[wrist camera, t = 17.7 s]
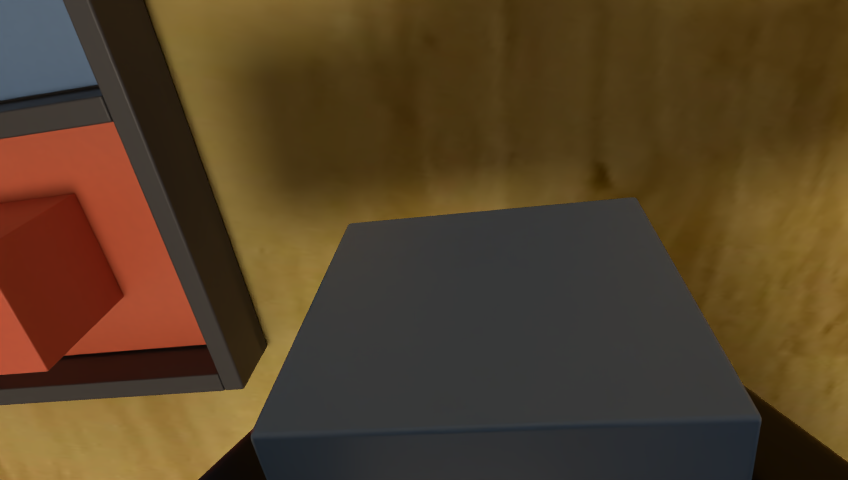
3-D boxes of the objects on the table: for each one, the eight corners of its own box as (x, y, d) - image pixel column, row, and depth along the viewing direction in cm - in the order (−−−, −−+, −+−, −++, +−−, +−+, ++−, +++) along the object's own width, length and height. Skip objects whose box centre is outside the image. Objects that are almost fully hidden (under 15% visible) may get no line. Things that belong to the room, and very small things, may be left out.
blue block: (637, 195, 8) (766, 417, 5) (630, 416, 10) (717, 700, 7) (348, 222, 9) (246, 436, 5) (394, 425, 11) (347, 688, 7)
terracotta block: (75, 192, 20) (-22, 252, 16) (124, 296, 22) (48, 372, 18) (-31, 206, 21) (-148, 267, 17) (26, 306, 23) (-68, 380, 19)
